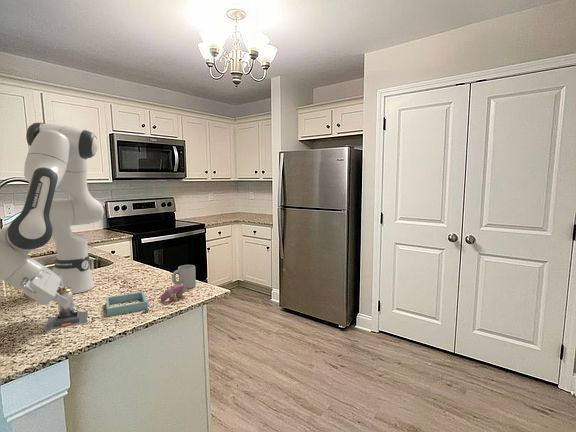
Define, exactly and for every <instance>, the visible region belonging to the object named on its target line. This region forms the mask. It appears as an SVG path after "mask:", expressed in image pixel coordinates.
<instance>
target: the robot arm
mask: <svg viewBox="0 0 576 432" xmlns="http://www.w3.org/2000/svg"><path fill="white" fill-rule="evenodd" d="M25 139H26V143H27V145H28V146H29V149H28V152H27V155H26V157H25V160H24V161H25V162H24V169H23V170H24V171H23V176H24V178H25V180H26V181H28V191H27V194H26V198H25V201H24V204H23V208H22V210H21V212H20V214H18V216H16V217H15V218H14V219H13V221H11V223H10V224H9V225H8V226H6V227H3V228H0V279H1V280H2V281H3V282H5V283H7V284H8V285H10V286H12V287H13V288H15V289H16V290H18V291H19V290H20V291H21V290H22V289H23V291H22V292H23V293H24V294H26V296H28V297H29V298H31V299H32V300H33V301H36V303H39V304H40V305H42V306H47V305H49V304H50V303H51V301H53V302H56V303H58V302H60V303H61V304H63V305H65V304H66V303H67V302H68V301H69V299H68V298H66V297H65V296H64V297H63V296H61V295H59V293H57V290H58V289H61V288H64V287H70V288H72V293H73V294H80V293H83V292H86V291H90V290H92V289H93V288H95V282H94V280H93V277H92V271H91V266H90V264H91V258H90V255H89V250H88V249H89V248H88V240H87V237H85V236H84V235H82V234H79V233H76V232H74V231H72V230H71V226H81V225H82V226H83V225H89V224H94V223H97V222H100V221H101V220H102V219H103V217H104V213H105V209H104V206H103V205H102V203H101V202H100V201H99V200H97V199H95V198H94V197H93V196H92V194H91V192H90V191H89V188H88V179H87V177H88V161H87V160H88V159H91V158H93V157H94V156H95V155H96V153H97V152H98V148H99V143H98V138H97V136H96V135H95V133H93V132H91V131H89V130H86V129H84V130H83V129H80V128H77V127H74V126H73V127H72V126H67V125H59V124H51V123H50V124H49V123H46V122H34V123H31V124H30V125H29V126H28V128H27V129H26V138H25ZM56 190H59V192H62V193H64V194H67V195H70V199H61V200H60V199H59V200H57V199H56V200H53V199H54V195H55V192H56ZM51 238H53V241H54V244H55V250H56V259H54V260H52V264H54V266H53V268H52V269H50V268H48V267H47V266H45V263H44V262H42V261H41V260H35V259H33V258H32V257H30V256H29V253H30V252H33V251H34V250H36V249H40V248H42V247H43V246H45V245H47V244H48V243H49V241H50V240H51Z"/></svg>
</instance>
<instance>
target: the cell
mask: <svg viewBox="0 0 576 432" xmlns="http://www.w3.org/2000/svg"><path fill="white" fill-rule="evenodd" d="M57 293H59V295H61V296H63V297H64V296H65V297H66V298H68V299H69V301H68V302H67V303H66V304H65V305H63V304H61V303H60V302H57V306H58V307H57V308H58V315H59V317H68V316H71V315H73V314H74V312H75V311H74V298H73V293H72V288H70V287H64V288H61V289H58V290H57Z"/></svg>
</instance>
